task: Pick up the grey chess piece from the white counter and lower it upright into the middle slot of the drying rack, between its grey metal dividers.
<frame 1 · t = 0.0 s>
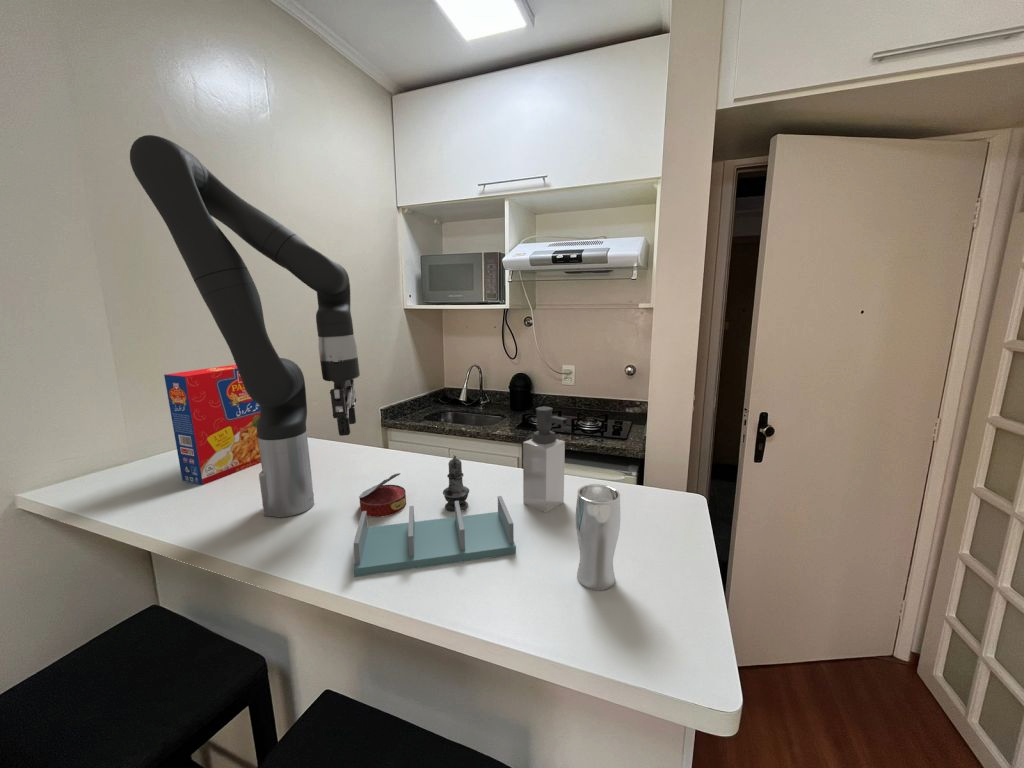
hand: (348, 429, 91), 17 cm above the worktop, tool pointing down, fingers open, 8 cm apart
soap dispenser: (547, 505, 92), on the worktop
canned food: (383, 507, 92), on the worktop
beer glass: (595, 579, 67), on the worktop
rack: (436, 543, 77), on the worktop
grey chess piece: (456, 506, 92), on the worktop
pasta box: (244, 464, 118), on the worktop
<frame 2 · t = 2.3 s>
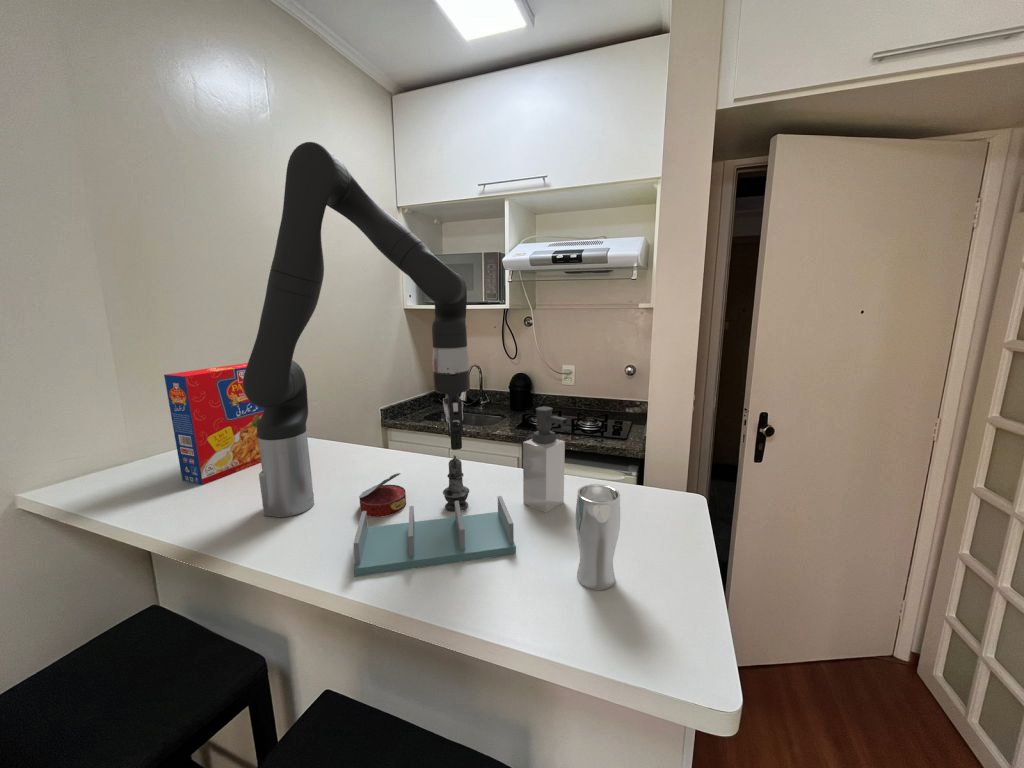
hand: (454, 442, 89), 15 cm above the worktop, tool pointing down, fingers open, 8 cm apart
nothing on the worktop moved.
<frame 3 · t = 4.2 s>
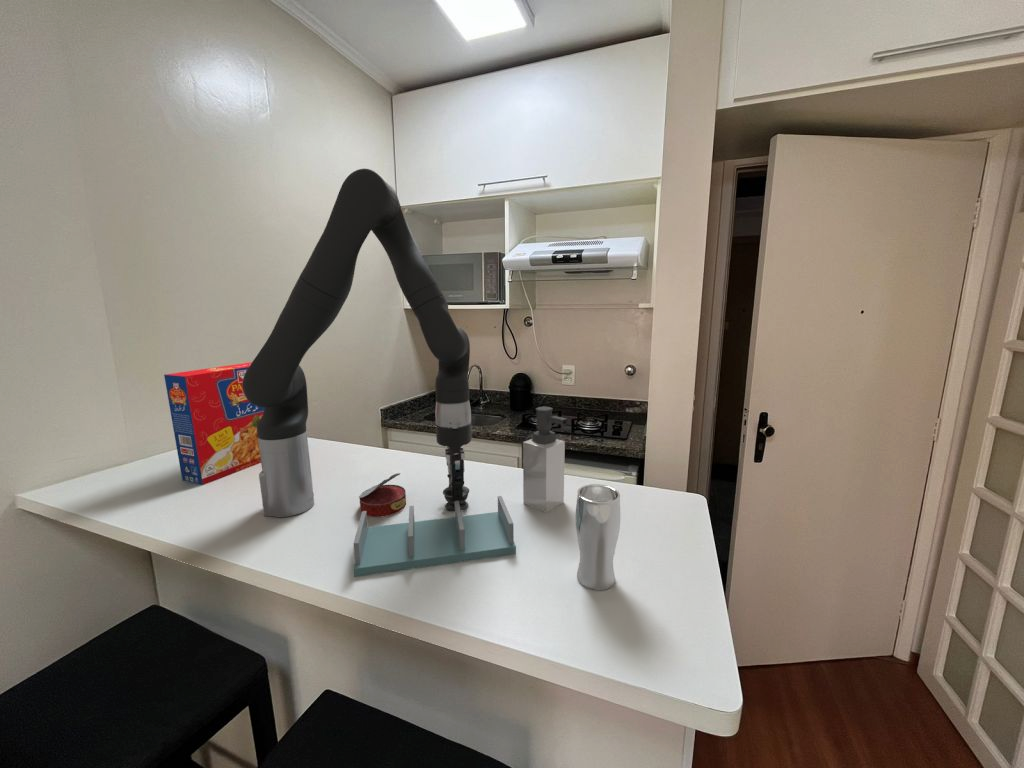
hand: (456, 493, 91), 3 cm above the worktop, tool pointing down, fingers closed on grey chess piece, 6 cm apart
grey chess piece: (456, 506, 92), on the worktop, touching gripper
everything else where it was.
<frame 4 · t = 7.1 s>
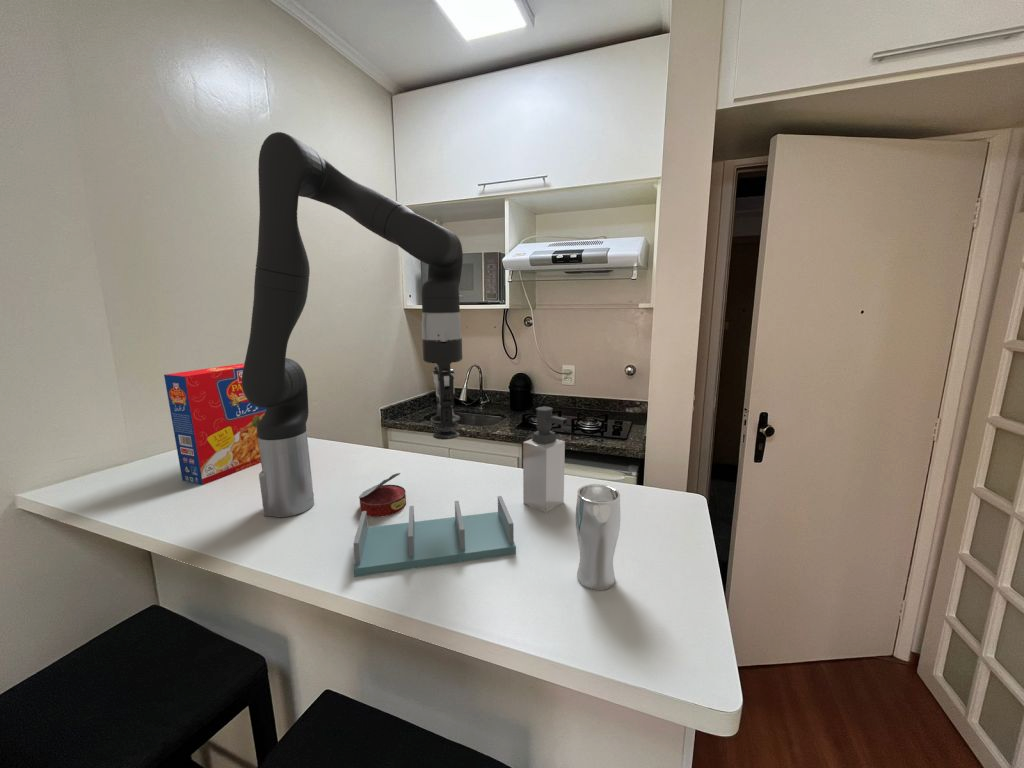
hand: (445, 421, 82), 21 cm above the worktop, tool pointing down, fingers closed on grey chess piece, 6 cm apart
grey chess piece: (446, 436, 82), point 18 cm above the worktop, touching gripper
everything else where it was.
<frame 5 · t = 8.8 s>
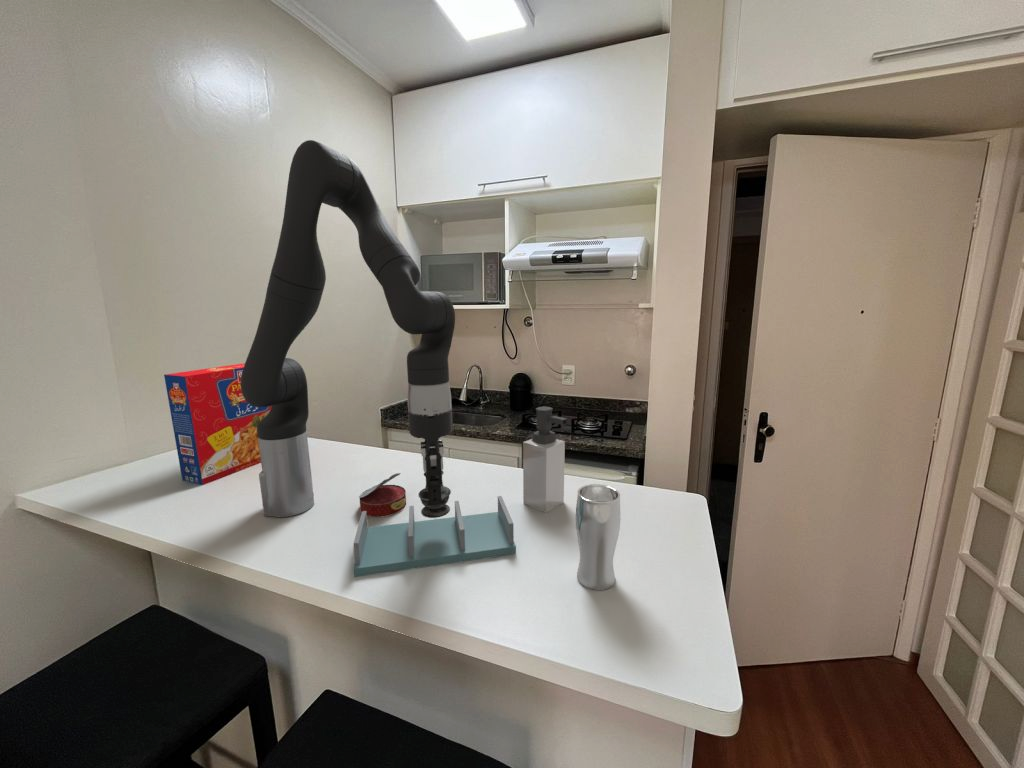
hand: (434, 495, 75), 10 cm above the worktop, tool pointing down, fingers closed on grey chess piece, 6 cm apart
grey chess piece: (435, 511, 76), point 7 cm above the worktop, touching gripper
everything else where it was.
when the fingers open (6 cm above the worktop, at t = 10.2 s): grey chess piece drops 1 cm, resting on rack.
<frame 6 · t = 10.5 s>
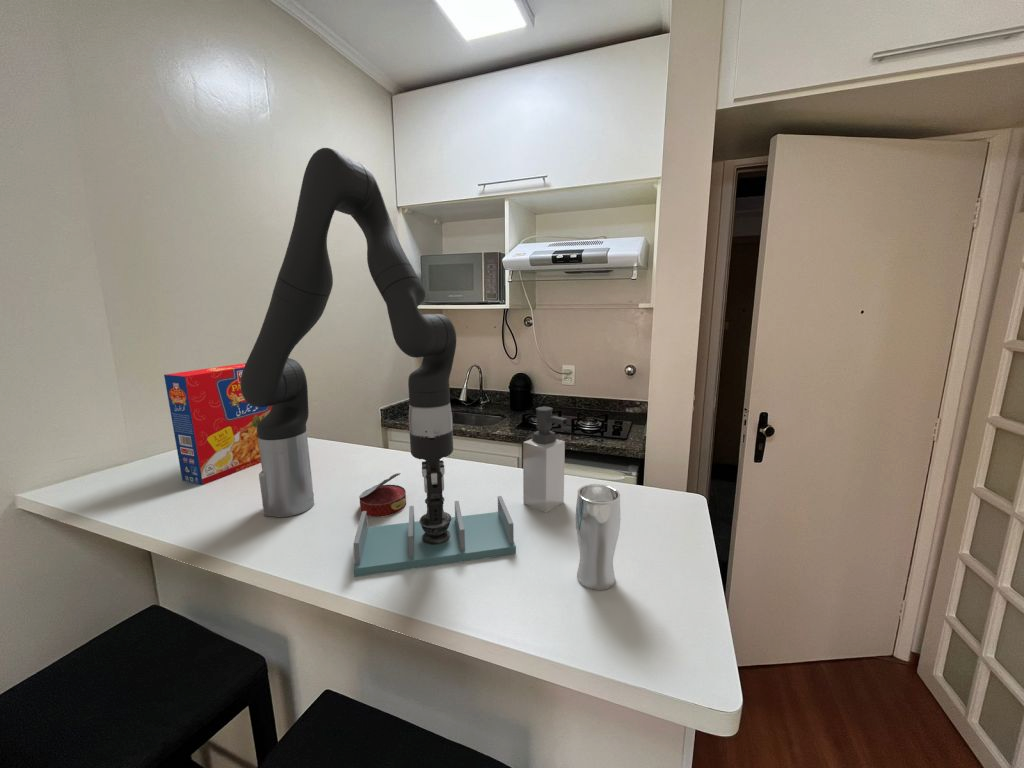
hand: (435, 512, 76), 6 cm above the worktop, tool pointing down, fingers open, 8 cm apart
grey chess piece: (436, 537, 77), point 1 cm above the worktop, touching rack
everything else where it was.
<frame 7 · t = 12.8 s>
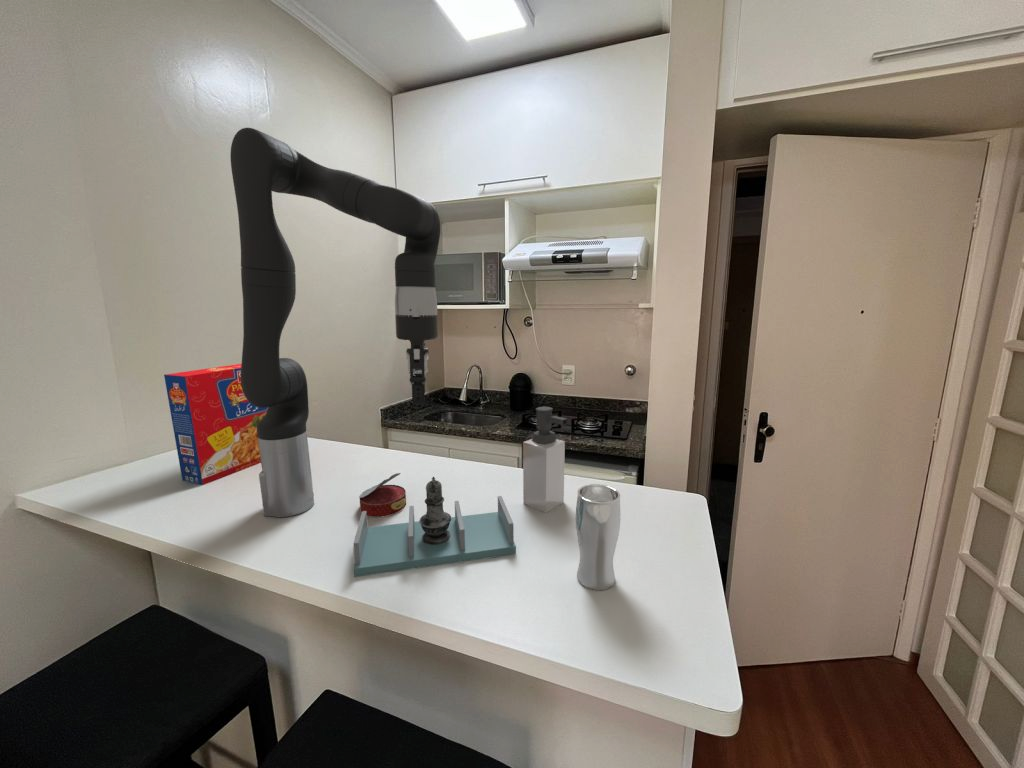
hand: (419, 399, 78), 27 cm above the worktop, tool pointing down, fingers open, 8 cm apart
nothing on the worktop moved.
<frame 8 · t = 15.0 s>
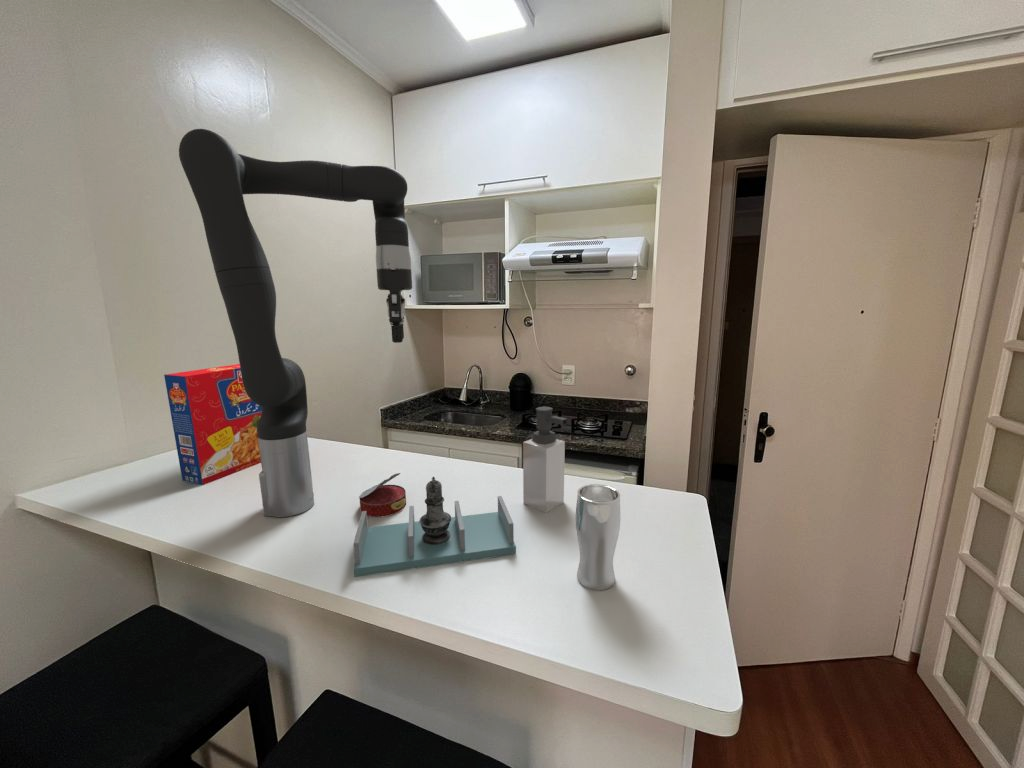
hand: (398, 340, 95), 36 cm above the worktop, tool pointing down, fingers open, 8 cm apart
nothing on the worktop moved.
at the end: grey chess piece inside the target area on the rack (0.0 cm from its centre), point 1.3 cm above the rack's base; grey chess piece tilted 0°; the gripper is holding nothing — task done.
